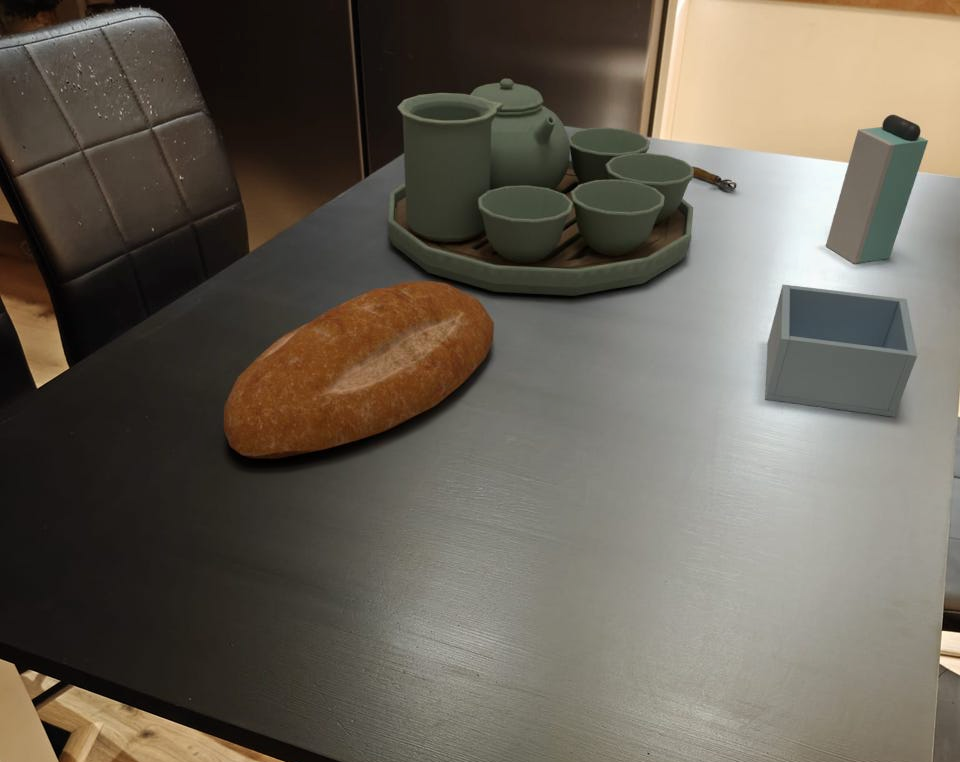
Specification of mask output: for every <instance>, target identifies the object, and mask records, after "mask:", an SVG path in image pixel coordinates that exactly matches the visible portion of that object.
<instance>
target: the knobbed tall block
mask: <svg viewBox="0 0 960 762" xmlns="http://www.w3.org/2000/svg"><path fill="white" fill-rule="evenodd" d="M921 133H922V132H921V127H920V125H919V124H917V123H915V122H912V121H910V120H908V119H905V118H903V117H901V116H899V115H897V114H890V115H887V116H886V117H885V118H884V120H883V121H882V125H881V126H879V127H870V128H862V129H861V128H860V129H858V130H857V132H856V135H855V139H854V143H853V147H852V149H851V153H850V157H849V160H848V163H847V168H846V171H845V175H844V179H843V182H842V185H841V189H840V193H839V197H838V200H837V203H836V208H835V211H834V214H833V217H832V222H831V226H830V228H829V233H828V236H827V240H826V244H825V247H826V248H828V249H830V250H831V251H833V252H835V253H836V254H838V255H839V256H841V257H843V258H844V259H845V260H847V261H849V262H850V263H852V264H862V263H869V262H875V261H880V260H886V259H887V260H888V259H890V258H891V255H892V252H893V248H894V245H895V243H896V239H897V236H898V234H899V230H900V227H901V225H902V221H903V219H904V215H905V213H906V208H907V206H908V203H909V200H910V198H911V195H912V191H913V188H914V186H915V182H916V178H917V176H918V173H919V170H920V167H921V164H922V160H923V158H924V155H925V151H926V149H927V145H928V143H929V140H928V139H926V138H924V137H922V136H921Z"/></svg>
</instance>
